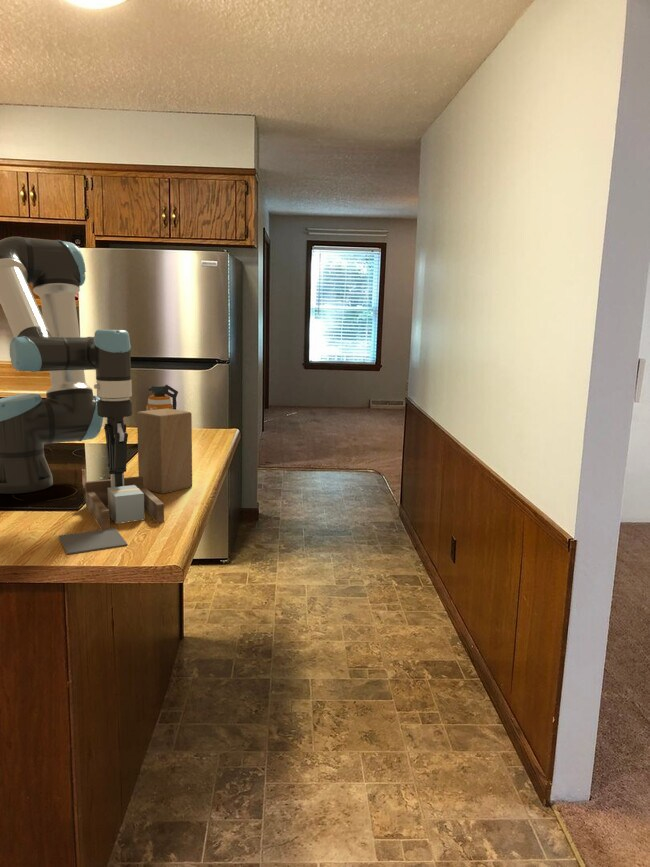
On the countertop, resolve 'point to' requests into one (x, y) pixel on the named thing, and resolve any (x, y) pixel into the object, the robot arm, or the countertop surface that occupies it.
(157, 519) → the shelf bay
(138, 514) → the block
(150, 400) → the orange rounded handled piece
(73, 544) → the mat
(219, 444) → the countertop surface
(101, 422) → the robot arm
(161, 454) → the wooden block
